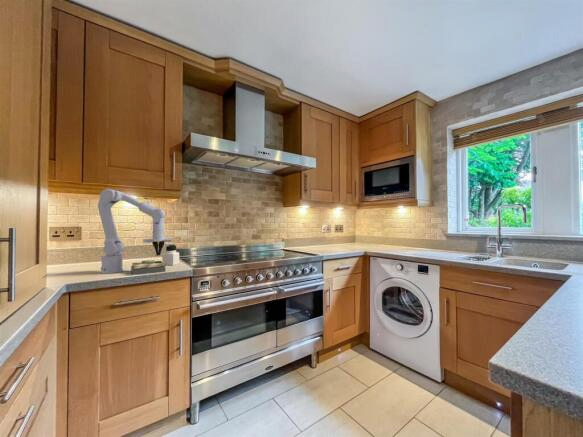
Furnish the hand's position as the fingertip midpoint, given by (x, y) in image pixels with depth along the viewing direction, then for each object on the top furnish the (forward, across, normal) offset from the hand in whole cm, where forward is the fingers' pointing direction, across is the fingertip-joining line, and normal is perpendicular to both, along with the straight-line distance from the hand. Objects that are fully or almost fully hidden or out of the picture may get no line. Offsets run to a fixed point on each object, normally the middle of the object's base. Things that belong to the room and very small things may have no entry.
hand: (158, 255), depth 143 cm
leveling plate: (+5, -5, 0) cm, 7 cm away
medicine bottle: (+8, +9, +15) cm, 19 cm away
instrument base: (+8, -5, 0) cm, 10 cm away
